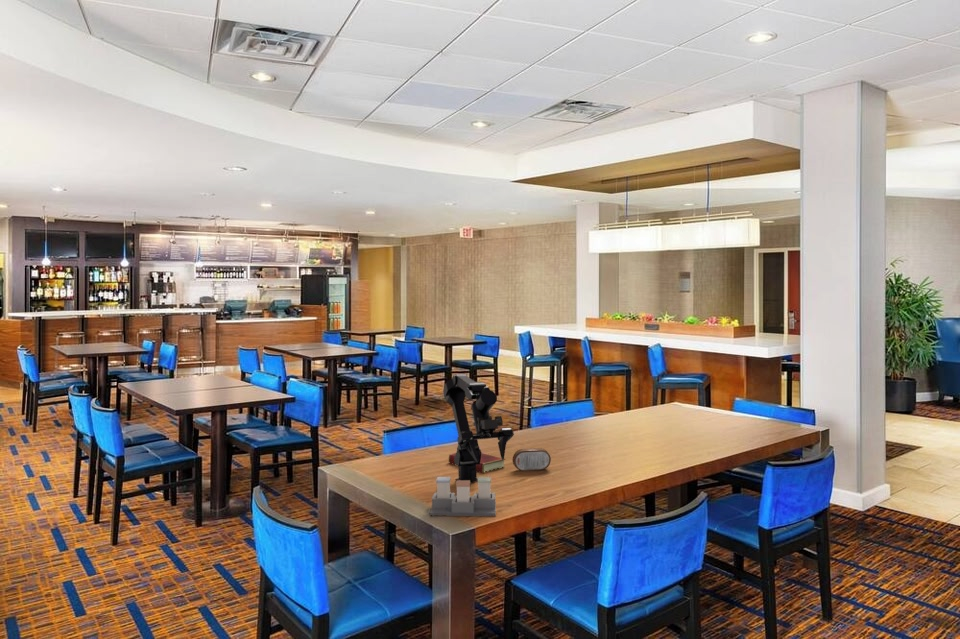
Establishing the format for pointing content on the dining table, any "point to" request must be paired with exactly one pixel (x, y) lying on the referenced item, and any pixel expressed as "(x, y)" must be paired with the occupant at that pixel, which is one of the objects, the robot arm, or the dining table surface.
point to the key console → (463, 506)
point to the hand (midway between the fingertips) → (490, 460)
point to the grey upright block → (443, 487)
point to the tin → (531, 459)
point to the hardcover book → (484, 462)
